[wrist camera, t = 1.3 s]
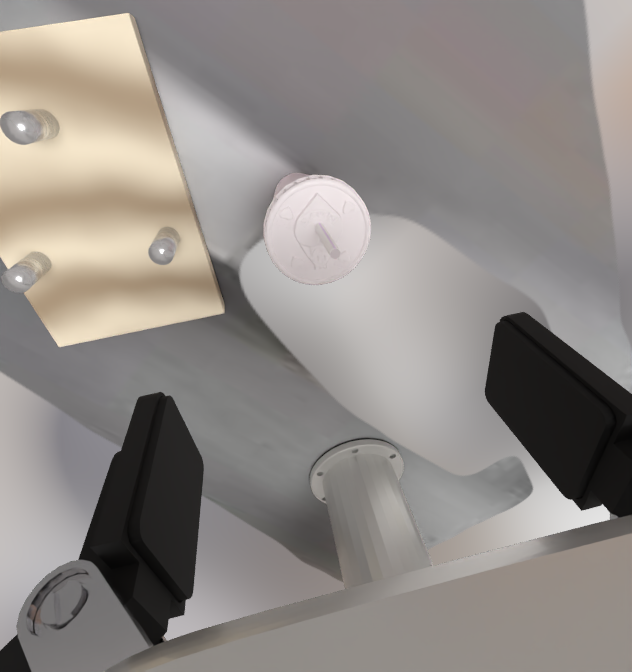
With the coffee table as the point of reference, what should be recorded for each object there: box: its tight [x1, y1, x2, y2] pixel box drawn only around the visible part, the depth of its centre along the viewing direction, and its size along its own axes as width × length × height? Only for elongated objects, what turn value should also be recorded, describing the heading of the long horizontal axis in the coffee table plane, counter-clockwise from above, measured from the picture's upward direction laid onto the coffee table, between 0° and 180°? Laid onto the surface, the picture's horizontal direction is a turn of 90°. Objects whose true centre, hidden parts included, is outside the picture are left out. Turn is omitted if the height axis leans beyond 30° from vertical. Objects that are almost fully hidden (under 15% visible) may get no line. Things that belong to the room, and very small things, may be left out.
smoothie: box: [264, 173, 371, 285], centre depth 24 cm, size 6×6×14 cm
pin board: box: [0, 13, 225, 347], centre depth 26 cm, size 20×14×5 cm
